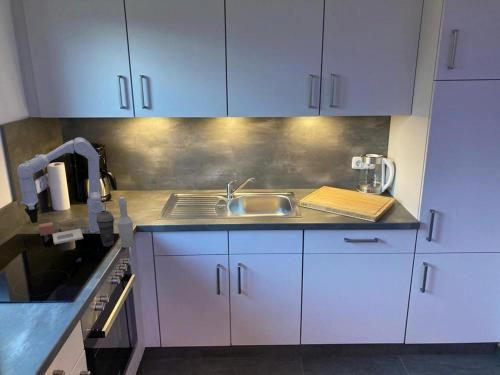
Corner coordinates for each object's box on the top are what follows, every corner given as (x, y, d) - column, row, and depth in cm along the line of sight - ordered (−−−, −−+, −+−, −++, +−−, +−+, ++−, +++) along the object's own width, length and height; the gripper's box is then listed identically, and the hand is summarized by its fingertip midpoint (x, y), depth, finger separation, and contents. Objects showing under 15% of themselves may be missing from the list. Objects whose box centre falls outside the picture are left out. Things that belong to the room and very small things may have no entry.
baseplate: (80, 230, 195) (79, 228, 195) (83, 238, 186) (82, 236, 186) (52, 235, 190) (52, 233, 190) (54, 244, 181) (53, 242, 180)
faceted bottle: (137, 242, 180) (131, 195, 174) (132, 248, 174) (127, 200, 168) (122, 242, 181) (117, 195, 174) (118, 248, 175) (111, 200, 168)
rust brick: (40, 233, 194) (38, 224, 192) (54, 230, 196) (52, 222, 195) (40, 236, 190) (38, 227, 189) (54, 233, 193) (53, 224, 192)
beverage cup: (106, 240, 184) (100, 197, 178) (120, 241, 182) (115, 199, 176) (96, 246, 177) (89, 203, 171) (110, 248, 175) (104, 204, 169)
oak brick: (60, 229, 198) (59, 220, 196) (74, 226, 200) (72, 218, 199) (61, 232, 194) (60, 223, 193) (75, 229, 197) (73, 221, 196)
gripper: (18, 188, 183) (24, 216, 187) (18, 197, 171) (24, 227, 175) (35, 185, 186) (41, 213, 190) (37, 194, 174) (42, 223, 178)
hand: (34, 219), depth 183 cm, fingers open, 7 cm apart
